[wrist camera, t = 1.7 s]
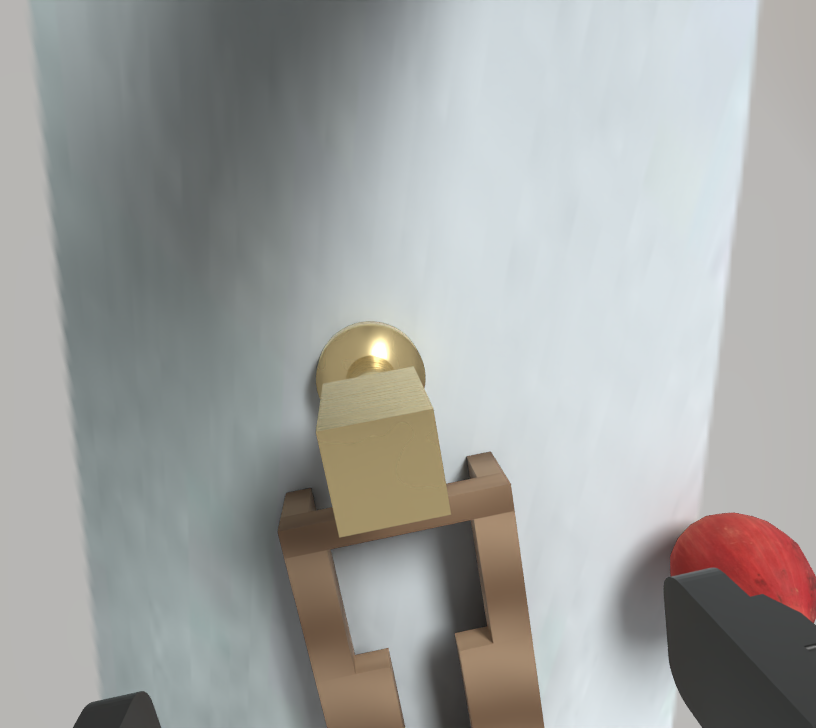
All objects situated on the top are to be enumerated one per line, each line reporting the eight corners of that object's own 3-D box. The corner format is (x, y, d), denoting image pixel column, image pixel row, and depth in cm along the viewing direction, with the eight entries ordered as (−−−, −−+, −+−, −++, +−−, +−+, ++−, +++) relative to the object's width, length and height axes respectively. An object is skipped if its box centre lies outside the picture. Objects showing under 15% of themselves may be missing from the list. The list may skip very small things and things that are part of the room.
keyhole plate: (285, 493, 28) (277, 531, 24) (490, 451, 28) (510, 483, 25) (357, 785, 32) (359, 853, 29) (533, 744, 33) (555, 806, 30)
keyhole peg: (307, 332, 26) (278, 409, 15) (412, 312, 26) (457, 374, 16) (328, 431, 27) (316, 568, 17) (429, 411, 28) (482, 533, 17)
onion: (748, 478, 30) (885, 566, 23) (744, 575, 32) (872, 690, 24) (639, 494, 30) (742, 589, 22) (640, 592, 31) (737, 714, 24)
